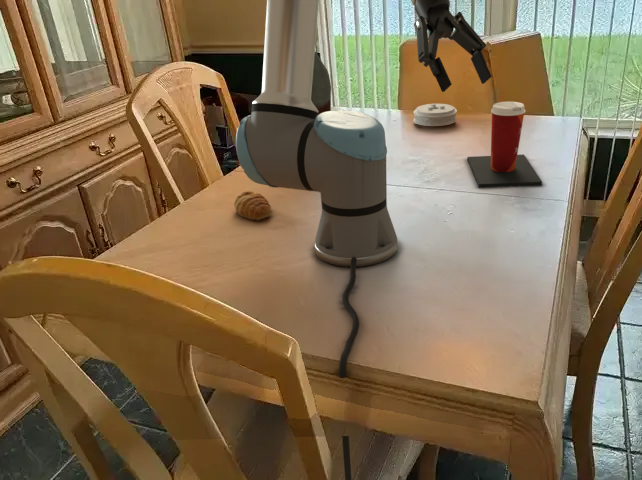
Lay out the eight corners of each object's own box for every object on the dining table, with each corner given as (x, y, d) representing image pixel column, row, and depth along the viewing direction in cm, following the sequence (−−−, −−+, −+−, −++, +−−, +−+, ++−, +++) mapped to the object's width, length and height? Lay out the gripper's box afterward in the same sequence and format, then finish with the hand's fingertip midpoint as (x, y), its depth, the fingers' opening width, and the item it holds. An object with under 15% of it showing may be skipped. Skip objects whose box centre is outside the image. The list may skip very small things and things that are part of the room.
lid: (434, 115, 189) (435, 98, 186) (465, 123, 181) (466, 104, 178) (404, 124, 183) (404, 106, 180) (435, 132, 175) (435, 113, 172)
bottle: (295, 161, 159) (281, 28, 141) (306, 150, 166) (294, 23, 148) (330, 162, 157) (321, 27, 139) (339, 151, 164) (331, 22, 146)
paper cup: (526, 170, 143) (533, 106, 135) (497, 175, 141) (503, 110, 133) (507, 161, 149) (513, 99, 141) (479, 166, 147) (484, 103, 138)
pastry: (280, 216, 129) (278, 198, 127) (251, 225, 126) (248, 207, 124) (259, 204, 136) (257, 187, 133) (231, 212, 133) (228, 194, 130)
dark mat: (541, 185, 137) (542, 181, 137) (478, 187, 138) (478, 184, 137) (523, 157, 153) (523, 154, 153) (467, 159, 154) (467, 156, 153)
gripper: (455, 5, 149) (491, 86, 150) (379, 13, 136) (419, 101, 137) (475, -18, 143) (513, 67, 144) (397, -12, 130) (439, 81, 131)
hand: (467, 84), depth 141 cm, fingers open, 13 cm apart
